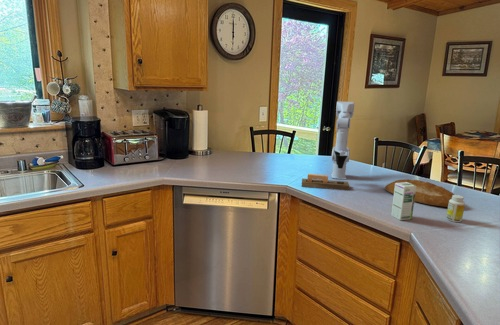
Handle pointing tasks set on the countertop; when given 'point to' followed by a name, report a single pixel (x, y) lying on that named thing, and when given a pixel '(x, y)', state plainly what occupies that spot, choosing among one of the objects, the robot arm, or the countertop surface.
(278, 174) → the countertop surface
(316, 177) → the tan rectangular block
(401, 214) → the syrup box
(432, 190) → the bread
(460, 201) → the supplement bottle
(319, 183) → the wooden board with holes
